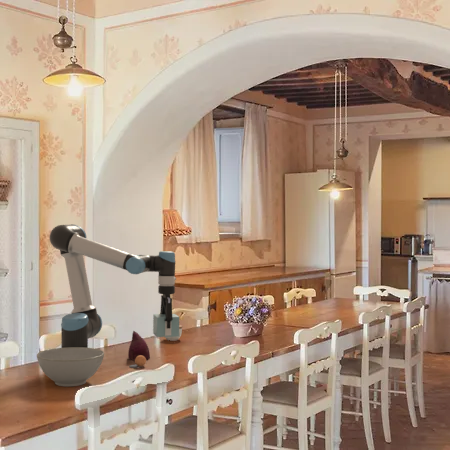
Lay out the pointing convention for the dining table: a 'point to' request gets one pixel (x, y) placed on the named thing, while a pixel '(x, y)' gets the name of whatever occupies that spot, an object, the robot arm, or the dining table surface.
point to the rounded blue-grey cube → (160, 325)
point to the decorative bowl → (70, 364)
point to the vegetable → (138, 347)
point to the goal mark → (135, 366)
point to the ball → (140, 360)
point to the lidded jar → (175, 336)
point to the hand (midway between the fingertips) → (165, 333)
